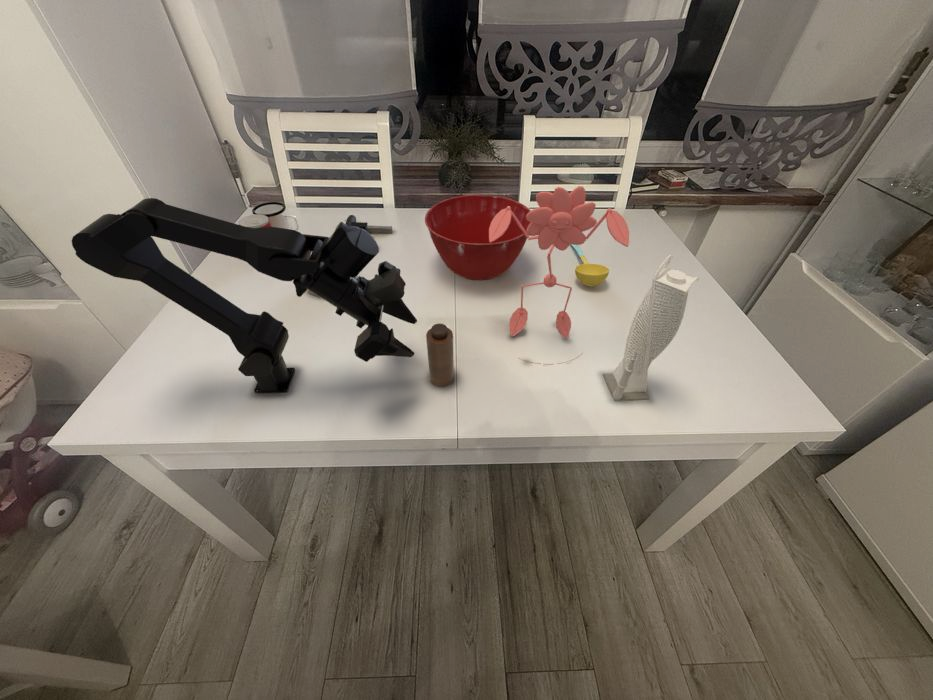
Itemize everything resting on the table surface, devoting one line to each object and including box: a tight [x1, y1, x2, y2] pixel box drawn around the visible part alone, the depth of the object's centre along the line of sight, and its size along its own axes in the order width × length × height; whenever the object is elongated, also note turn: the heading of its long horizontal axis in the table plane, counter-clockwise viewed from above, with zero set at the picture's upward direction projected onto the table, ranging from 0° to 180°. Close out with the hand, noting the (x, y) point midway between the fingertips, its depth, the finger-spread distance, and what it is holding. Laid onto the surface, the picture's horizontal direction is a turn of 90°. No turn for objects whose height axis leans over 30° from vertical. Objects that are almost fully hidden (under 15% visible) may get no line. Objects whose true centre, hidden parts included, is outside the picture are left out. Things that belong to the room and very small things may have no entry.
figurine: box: [489, 185, 630, 366], centre depth 77 cm, size 15×26×35 cm, turn 83°
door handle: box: [343, 214, 393, 234], centre depth 122 cm, size 3×20×16 cm
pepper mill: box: [425, 323, 455, 388], centre depth 76 cm, size 5×5×14 cm
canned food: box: [237, 214, 271, 228], centre depth 111 cm, size 8×8×11 cm
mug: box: [251, 201, 300, 231], centre depth 120 cm, size 12×10×9 cm
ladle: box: [570, 244, 611, 287], centre depth 111 cm, size 9×26×6 cm, turn 1°
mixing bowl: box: [424, 194, 531, 281], centre depth 106 cm, size 28×28×15 cm
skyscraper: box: [602, 253, 700, 402], centre depth 70 cm, size 8×8×28 cm
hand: (414, 338), depth 73 cm, fingers open, 9 cm apart
